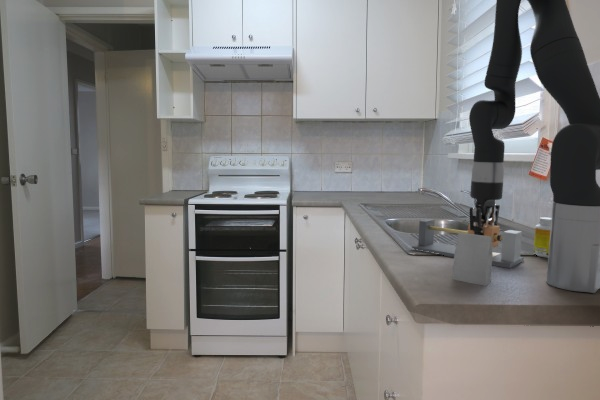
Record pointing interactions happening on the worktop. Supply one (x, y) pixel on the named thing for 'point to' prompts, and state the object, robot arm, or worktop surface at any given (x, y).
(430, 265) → the worktop surface
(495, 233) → the sleeve
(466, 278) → the grey tapered slab
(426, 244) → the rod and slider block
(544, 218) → the supplement bottle
